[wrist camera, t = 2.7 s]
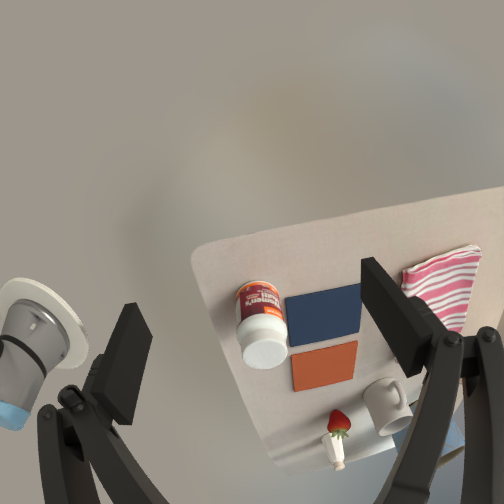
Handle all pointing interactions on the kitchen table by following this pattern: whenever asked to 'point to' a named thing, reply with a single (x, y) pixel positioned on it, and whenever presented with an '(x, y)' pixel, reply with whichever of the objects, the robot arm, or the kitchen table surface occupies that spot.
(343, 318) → the slate blue mat
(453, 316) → the dish towel
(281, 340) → the pill bottle
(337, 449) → the pepper shaker
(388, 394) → the mug
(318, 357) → the terracotta mat
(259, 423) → the kitchen table surface
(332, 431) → the fruit
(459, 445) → the planter
